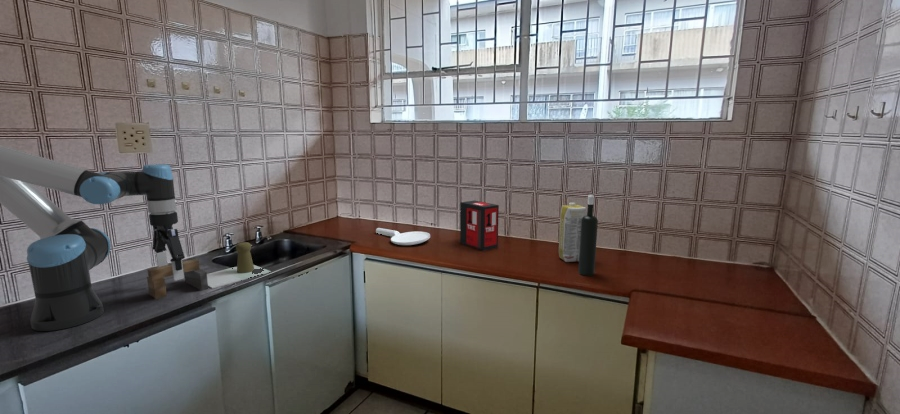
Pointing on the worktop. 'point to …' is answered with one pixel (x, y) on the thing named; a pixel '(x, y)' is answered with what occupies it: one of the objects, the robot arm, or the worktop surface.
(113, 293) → the worktop surface
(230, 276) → the plate
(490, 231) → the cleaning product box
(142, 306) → the worktop surface
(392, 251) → the worktop surface
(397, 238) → the frying pan
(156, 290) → the wooden arch block
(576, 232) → the juice carton
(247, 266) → the cork
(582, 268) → the wine bottle
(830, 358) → the worktop surface
